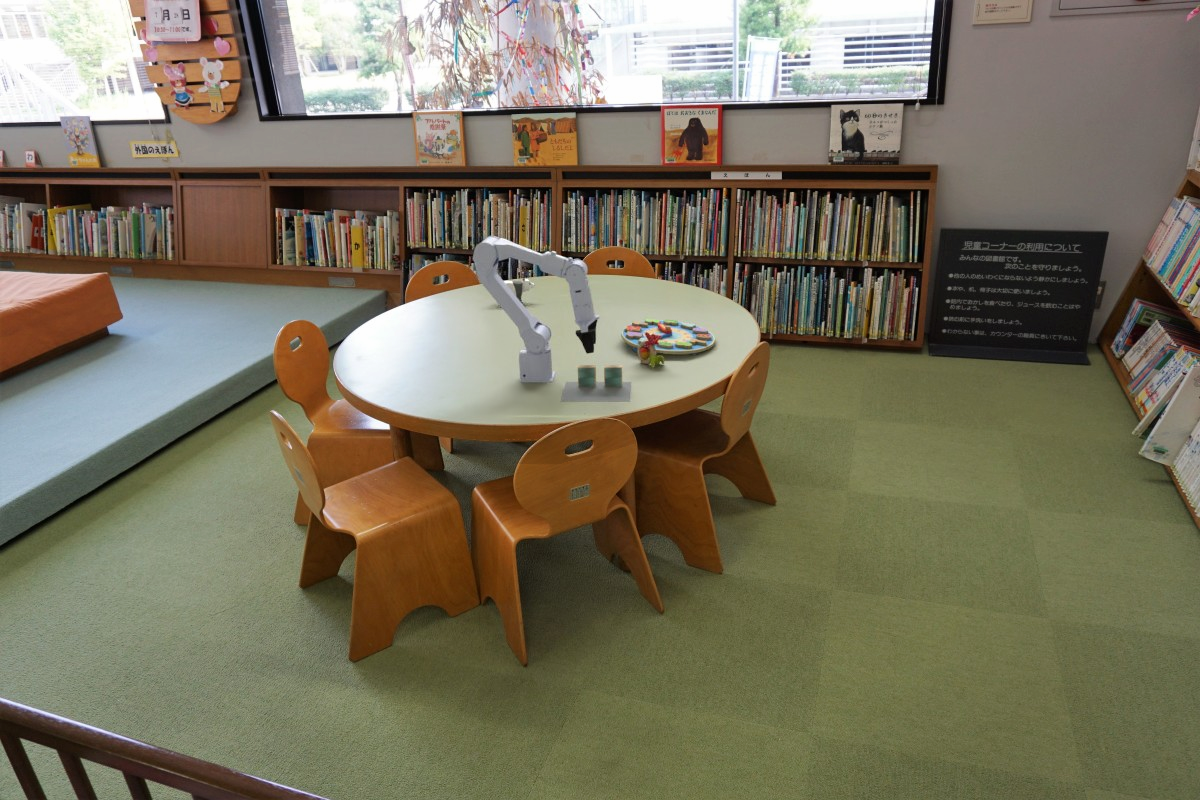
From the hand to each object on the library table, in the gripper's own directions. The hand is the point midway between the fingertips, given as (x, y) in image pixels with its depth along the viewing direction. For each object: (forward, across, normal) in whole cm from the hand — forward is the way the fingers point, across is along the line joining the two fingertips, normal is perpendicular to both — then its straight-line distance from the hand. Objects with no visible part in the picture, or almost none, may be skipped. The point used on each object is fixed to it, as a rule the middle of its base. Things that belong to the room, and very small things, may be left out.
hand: (591, 348), depth 233 cm
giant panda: (+4, +79, +36) cm, 87 cm away
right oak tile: (+10, -6, -5) cm, 13 cm away
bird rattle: (+12, +11, -15) cm, 22 cm away
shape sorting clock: (+13, +32, -21) cm, 40 cm away
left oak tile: (+9, -6, +2) cm, 11 cm away
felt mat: (+10, -10, 0) cm, 14 cm away
